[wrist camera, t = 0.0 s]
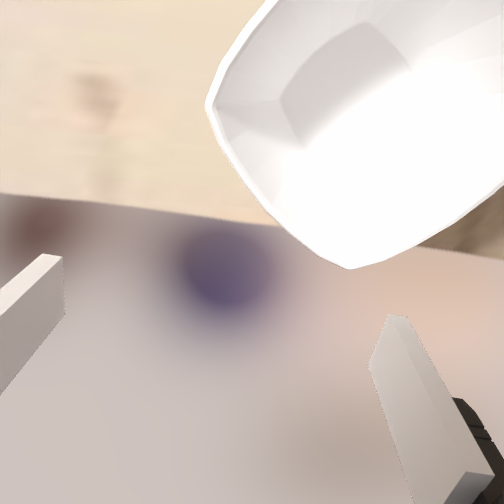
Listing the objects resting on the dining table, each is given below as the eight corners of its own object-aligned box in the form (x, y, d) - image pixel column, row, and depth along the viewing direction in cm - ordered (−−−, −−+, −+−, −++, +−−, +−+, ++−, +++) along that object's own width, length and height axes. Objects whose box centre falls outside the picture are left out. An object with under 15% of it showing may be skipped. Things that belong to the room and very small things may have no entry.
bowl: (382, -104, 31) (441, -188, 20) (506, 113, 38) (597, 133, 27) (191, 92, 38) (163, 103, 27) (325, 245, 45) (343, 300, 34)
